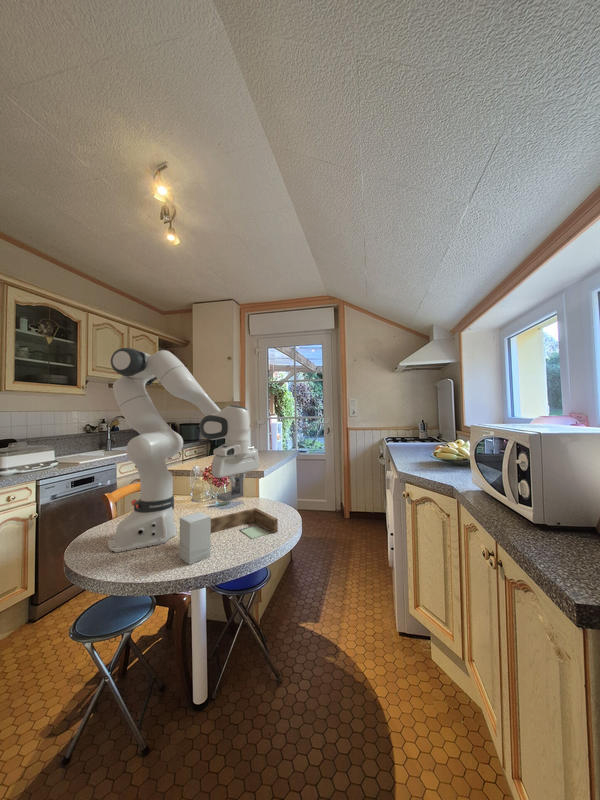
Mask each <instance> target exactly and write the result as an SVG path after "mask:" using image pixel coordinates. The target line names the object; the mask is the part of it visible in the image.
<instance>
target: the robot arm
mask: <svg viewBox="0 0 600 800" xmlns="http://www.w3.org/2000/svg"><path fill="white" fill-rule="evenodd" d="M110 366H111V368H112V369H113V371H114V372H116V373H117V374H119V375H121V377H119V378H118V379H116V380H115V381H114V383H113V384H112V390H113V395H114V398H115V401H116V403H117V405H118V407H119V409H120V410H119V411H120V412H121V413H122V415H123V417H124V419H125V422H126V424H127V425H128V427H129V428H131V429H133V431H136V432H137V433H138V434H139V435H137V436H135V437H132V438H131V439H130V440H129V441H128V443H127V445H126V447H125V448H126V449H125V451H126V455H127V457H128V459H129V460H130V462H132V463H133V464H134V465H135V467H136V469H137V472H138V474H139V475H138V476H139V480H140V481H139V484H140V485H139V486H140V490H139V491H140V495H139V496H140V497H139V499H138V500H137V499H132V500H131V502H130V504H131V505H132V506H133V511H132V512H131V513H130V514H128V515H127V516H126V517H125V518H124V519H122V520H121V521H120V522H119V523H118V525H117V526H116V530H115V534H114V535H113V536H111V537H110V538H108V541H107V549H108V548H109V549H108V550H109V551H110V550H111V552H112V551H114V552H113V553H122V552H126V550H127V551H132V550H137V549H141V548H146V547H147V546H148V547H151V546H152V545H153V546H157V545H161V544H164V543H165V544H166V543H167V541H168V540H169V539H170V538H172V537H175V535H176V534H177V532H178V530H177V527H176V523H175V517H174V516H175V515H174V510H175V496H174V493H173V492H174V490H173V489H174V482H173V481H174V477H173V476H174V475H173V474H172V472H171V471H169V469H168V466H167V462H166V459H170V458H172V457H174V456H177V454H178V453H180V452H181V450H182V449H183V446H184V439H183V437H182V435H180V434H179V433H178V432H176V431H174V430H173V428H172V427H171V426H170V425H169V424H168V423H167V422H166V421H165V420H164V418H162V416H161V415H160V413H159V412H158V411H157V409H156V407H155V405H154V403H153V401H152V399H151V397H150V395H149V393H148V391H147V389H146V386H151V384H153V382H155V381H156V380H158V382H159V383H160V384H161V385H162V387H163V388H165V390H166V391H167V392H168V393H169V394H171V395H172V396H173V397H176V398H178V399H182V400H185V401H187V402H189V403H191V404H193V405H194V406H196V407H197V408H198V409H199V410H200V411H201V412H202V414H203V415H204V417H203V418H202V419H201V420H200V423H199V432H200V435H201V436H202V437H204V439H207V440H210V441H214V440H221V439H225V441H224V444H221V445H220V446H218V447H217V448H214V449H213V453H212V454H213V455H214V456H213V459H212V464H211V474H212V476H213V478H217V479H222V478H225V477H228V480H229V481H230V486H232V487H236V486H237V481H235V479H234V478H235V476H237V475H238V476H240V477H243V481H244V480H245V478H246V475H247V473H249V472H254V471H257V470H259V468H260V457H259V451H258V450H259V449H258V448H257V447H256V446H254V445H253V446H252V445H251V446H250V437H249V431H250V415H249V410H248V409H247V408H246V407H244V406H240V405H235V404H230V405H227V406H226V407H225V408H223V409H221V408H220V406H219V405H218V404H217V403H216V402H215V401H214V400H213V399H212V398H211V396H210V395H209V394H207V392H206V391H205V390H204V389H203V387H202V386H201V385H200V384H199V382H198V381H197V380H196V379H195V377H194V376H193V374H192V373H191V372H190V371H189V369H188V368H187V367H186V365H185V364H184V363H183V362H182V361H181V360H180V359H179V358H178V357H177V356H176V355H174V353H172V352H171V351H169V350H165V349H161V350H158V351H156V352H155V353H153V354H152V355H151V354H149V353H147V352H145V351H142V350H141V351H140V350H138V349H135V348H132V347H131V348H130V347H123V348H122V347H120V348H117V350H115V351H114V352H113V354H112V355H111V358H110ZM153 546H152V547H153ZM148 547H147V548H148ZM136 548H137V549H136ZM121 551H122V552H121Z"/></svg>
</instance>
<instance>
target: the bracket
mask: <svg viewBox="0 0 600 800" xmlns="http://www.w3.org/2000/svg"><path fill="white" fill-rule="evenodd" d="M234 479H235V481H237V486H236V487H232V486H231V485H230V486H231V487H230V488H231V489H230V491H226V492H222V493H219V494H216V500H218V501H221V502H225V503H227V502H230V501H233V500H236V499H239V498H242V497H244V480H243V477H240V475H235V478H234Z"/></svg>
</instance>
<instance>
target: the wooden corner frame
mask: <svg viewBox="0 0 600 800" xmlns="http://www.w3.org/2000/svg"><path fill="white" fill-rule="evenodd" d="M278 520H279V519H278V518H276V517H274V516H273V515H271V514H268V513H267V512H265V511H263V510H261V509H259V508H257V507H255V508H250V509H246V510H242V511H238V512H233V513H229V514H224V515H220V516H217V517H216V516H215V517H213V518H212V517H211V534H213V533H217V532H218V533H219V532H221V531H224V530H228V529H232V528H235V527H240V526H243V524H244V525H247V524H250V522H251V523H254V521H255V523H256V524H257V525H259V524H260V525H259V526H261V525H262V528H264V527H265V529H266V528H267V530H268V531H270V532H271V531H272V532H271V533H273V534H275V533H276V532H277V533H279V529H278V527H279V526H278V525H279V524H278ZM246 523H247V524H246ZM239 525H240V526H239Z"/></svg>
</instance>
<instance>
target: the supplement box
mask: <svg viewBox="0 0 600 800" xmlns="http://www.w3.org/2000/svg"><path fill="white" fill-rule="evenodd" d="M211 519H212V517H211V516H209V515H207V514H206V513H204V512H201V511H199V512H195V513H191V514H188V515H183V516H181V517H179V558H180V559H181V560H183V562H185V563H186V564H187V565H192V564H195V563H197V562H198V563H199V562H201V561H203V560H205V559H207V558H208V559H209V558H210V557H211V554H212V553H211V552H212V551H211V547H212V545H211V544H212V543H211V542H212V541H211V539H212V537H211V534H212V533H211Z"/></svg>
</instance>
